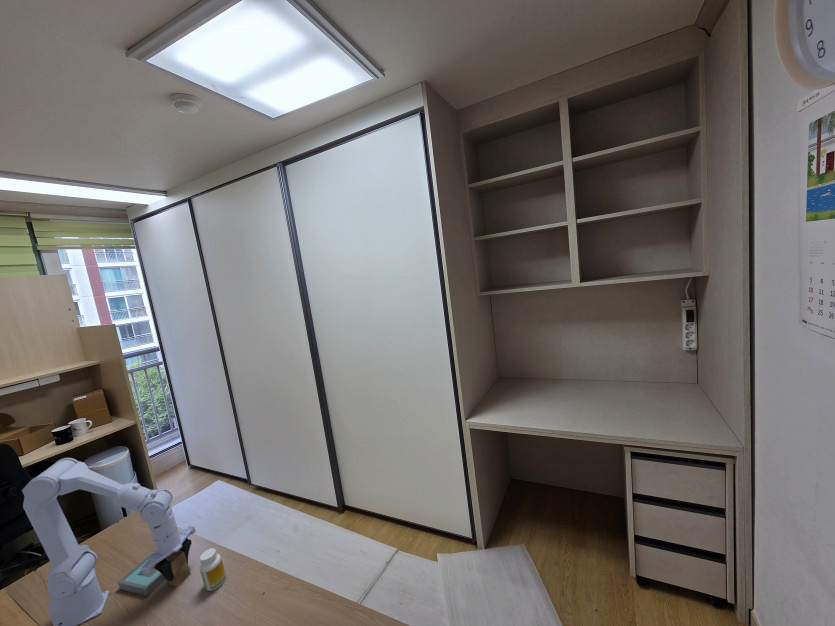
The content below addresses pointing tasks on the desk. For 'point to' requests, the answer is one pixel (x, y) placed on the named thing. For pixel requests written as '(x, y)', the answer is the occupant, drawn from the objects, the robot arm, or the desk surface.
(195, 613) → the desk surface
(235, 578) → the desk surface
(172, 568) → the peg
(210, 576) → the supplement bottle
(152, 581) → the socket box
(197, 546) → the desk surface
